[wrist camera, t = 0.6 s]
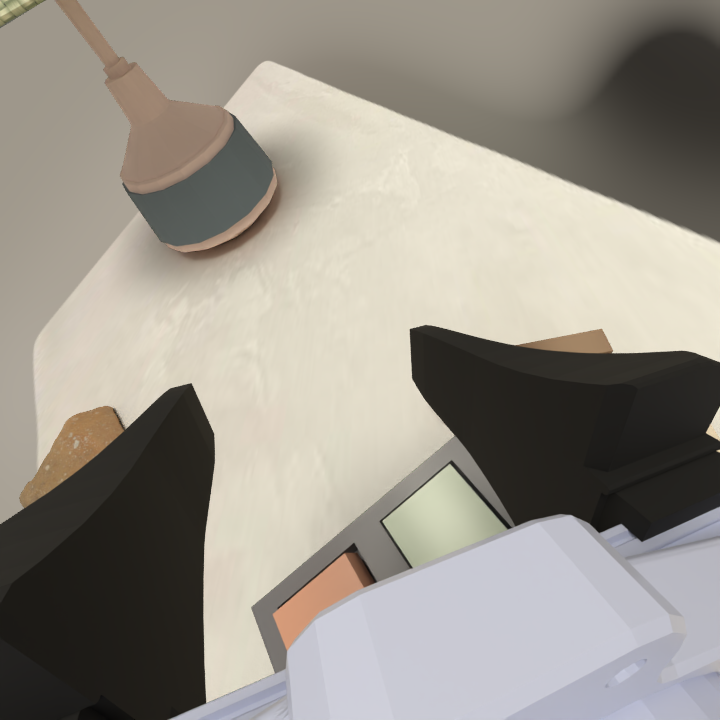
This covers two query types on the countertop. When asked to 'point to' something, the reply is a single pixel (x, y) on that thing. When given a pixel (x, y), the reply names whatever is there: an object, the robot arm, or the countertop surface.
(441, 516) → the cap sage
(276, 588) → the button panel
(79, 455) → the stone
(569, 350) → the screen
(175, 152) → the desk lamp
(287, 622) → the cap terracotta
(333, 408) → the countertop surface
